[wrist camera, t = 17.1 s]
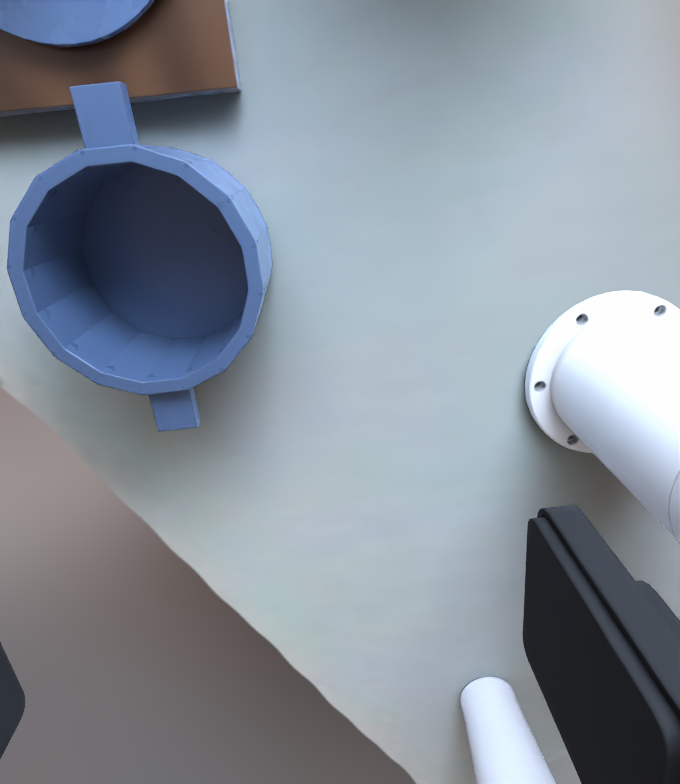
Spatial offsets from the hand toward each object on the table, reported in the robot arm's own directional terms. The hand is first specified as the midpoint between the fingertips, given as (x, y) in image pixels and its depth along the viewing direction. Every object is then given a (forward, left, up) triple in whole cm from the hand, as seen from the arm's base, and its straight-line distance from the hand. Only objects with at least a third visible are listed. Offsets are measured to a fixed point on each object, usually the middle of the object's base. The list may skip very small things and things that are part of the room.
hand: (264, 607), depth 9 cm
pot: (+8, -2, -30) cm, 31 cm away
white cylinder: (-13, +43, -31) cm, 54 cm away
